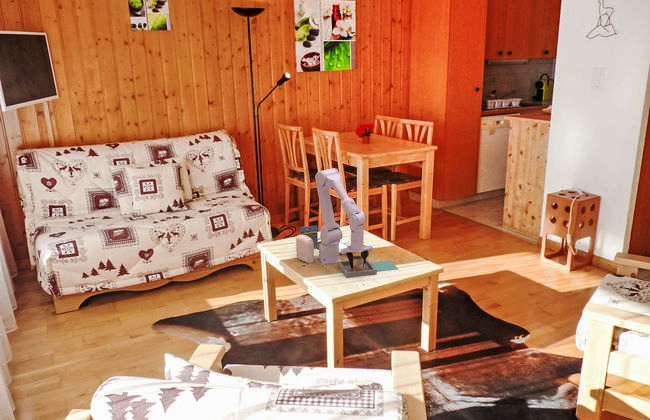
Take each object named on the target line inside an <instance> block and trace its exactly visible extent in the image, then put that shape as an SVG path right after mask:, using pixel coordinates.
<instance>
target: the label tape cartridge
mask: <svg viewBox="0 0 650 420" xmlns="http://www.w3.org/2000/svg"><path fill="white" fill-rule="evenodd" d="M298 235H306V236H308V237H310V238H311V239H312V240H313V242H314V249H317V248H316V246H318V247H319V244H318V243H319V240H318V239H319V238H318V237H319V234H318V225H309V226H301V227H300V232H298Z"/></svg>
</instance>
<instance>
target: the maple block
mask: <svg viewBox="0 0 650 420" xmlns="http://www.w3.org/2000/svg"><path fill="white" fill-rule="evenodd" d="M353 256H354V257H353V268H351V269H352V271H353V272H354V271H363V258H362V257H361V254H359V255H353Z"/></svg>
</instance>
